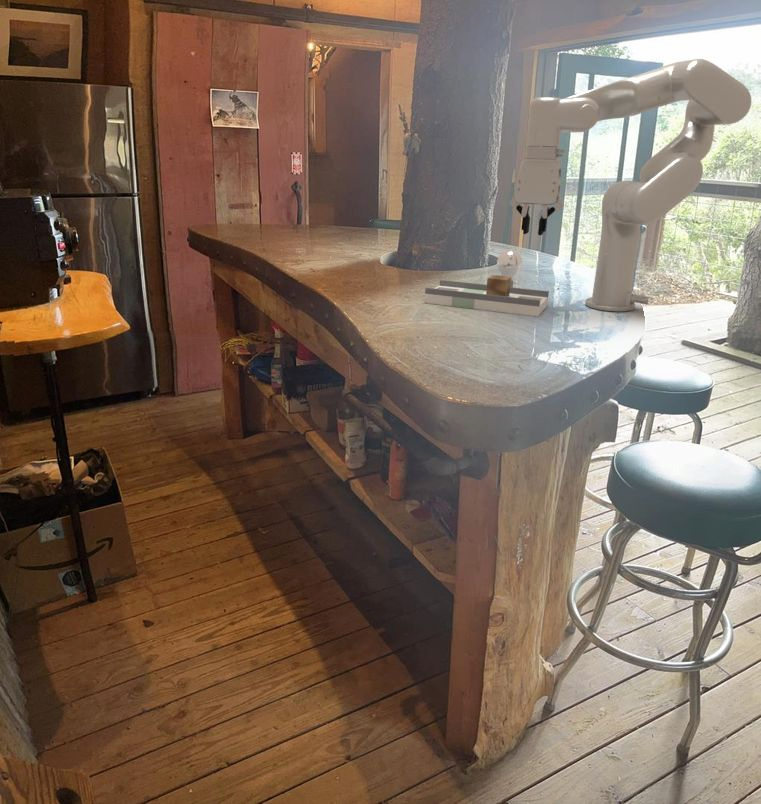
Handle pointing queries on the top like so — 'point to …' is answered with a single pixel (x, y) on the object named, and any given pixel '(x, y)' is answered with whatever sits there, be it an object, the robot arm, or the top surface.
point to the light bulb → (509, 263)
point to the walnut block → (498, 285)
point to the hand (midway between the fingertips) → (533, 233)
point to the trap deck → (487, 298)
